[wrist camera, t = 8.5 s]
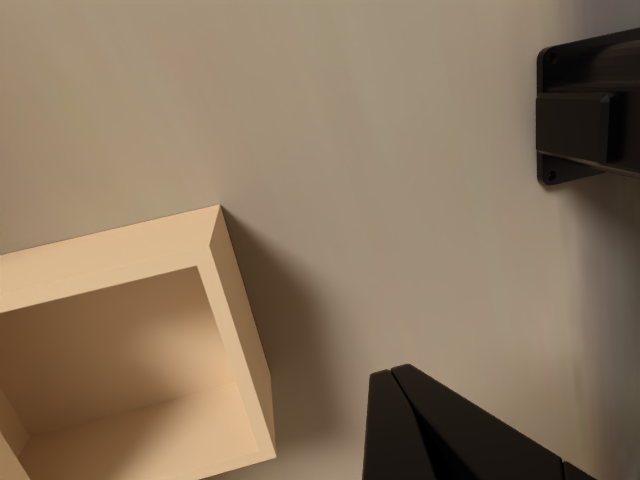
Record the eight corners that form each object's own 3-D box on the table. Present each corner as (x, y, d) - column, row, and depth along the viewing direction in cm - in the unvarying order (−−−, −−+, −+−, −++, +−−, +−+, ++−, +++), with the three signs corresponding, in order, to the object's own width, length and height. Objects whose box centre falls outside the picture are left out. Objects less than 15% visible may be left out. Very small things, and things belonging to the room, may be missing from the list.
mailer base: (220, 204, 19) (209, 245, 14) (270, 375, 23) (276, 457, 18) (-73, 272, 18) (-198, 342, 13) (29, 439, 22) (-39, 546, 17)
